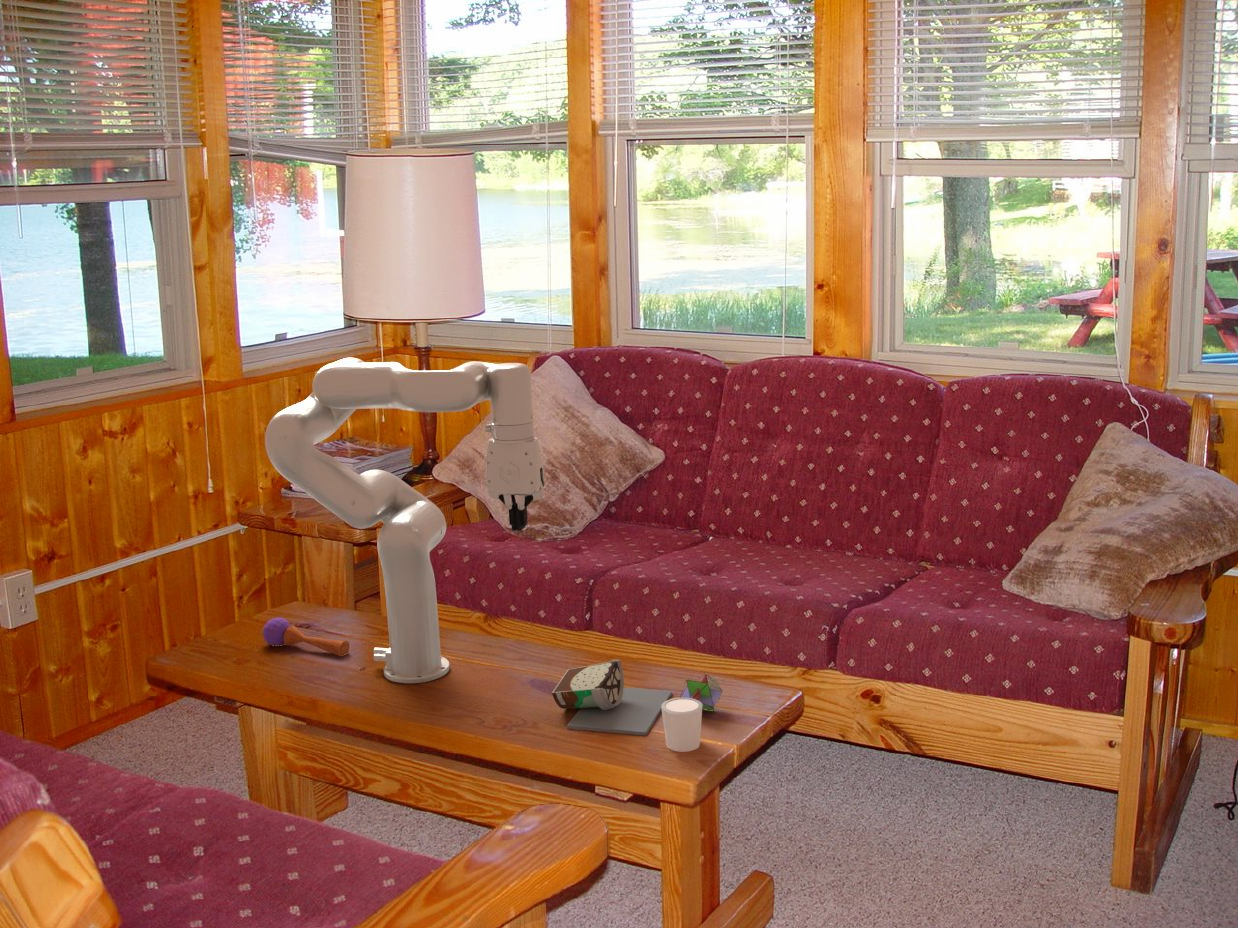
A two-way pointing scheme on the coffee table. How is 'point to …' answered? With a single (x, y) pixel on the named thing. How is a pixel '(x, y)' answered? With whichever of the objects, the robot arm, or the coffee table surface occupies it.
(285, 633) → the kendama
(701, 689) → the geometric puzzle
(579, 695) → the food container
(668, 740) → the shot glass
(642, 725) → the mat
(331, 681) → the coffee table surface
